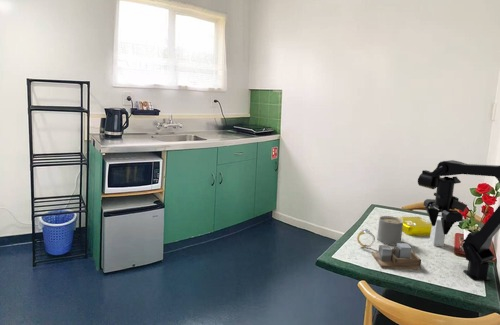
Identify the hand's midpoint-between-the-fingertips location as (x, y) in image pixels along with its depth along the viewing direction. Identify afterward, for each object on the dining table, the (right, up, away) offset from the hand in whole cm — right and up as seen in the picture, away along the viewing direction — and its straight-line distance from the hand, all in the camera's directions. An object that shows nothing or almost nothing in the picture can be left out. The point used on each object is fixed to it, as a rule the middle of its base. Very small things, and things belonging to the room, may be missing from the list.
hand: (439, 229), depth 140 cm
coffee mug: (-12, -8, +20) cm, 25 cm away
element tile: (+5, -7, +34) cm, 35 cm away
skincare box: (+8, -10, +17) cm, 21 cm away
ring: (-26, -10, +10) cm, 30 cm away
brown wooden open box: (-18, -12, -3) cm, 22 cm away
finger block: (-16, -11, -3) cm, 20 cm away
